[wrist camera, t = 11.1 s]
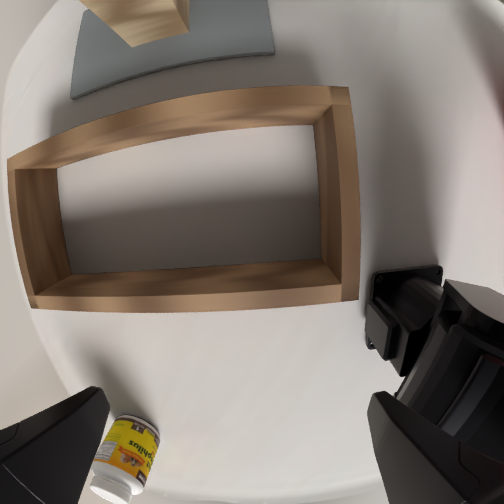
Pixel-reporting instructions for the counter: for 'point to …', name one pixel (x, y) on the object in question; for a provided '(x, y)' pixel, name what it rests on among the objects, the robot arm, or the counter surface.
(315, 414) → the counter surface
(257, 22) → the slate mat
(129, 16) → the maple block
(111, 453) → the supplement bottle
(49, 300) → the walnut crate
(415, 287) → the robot arm
